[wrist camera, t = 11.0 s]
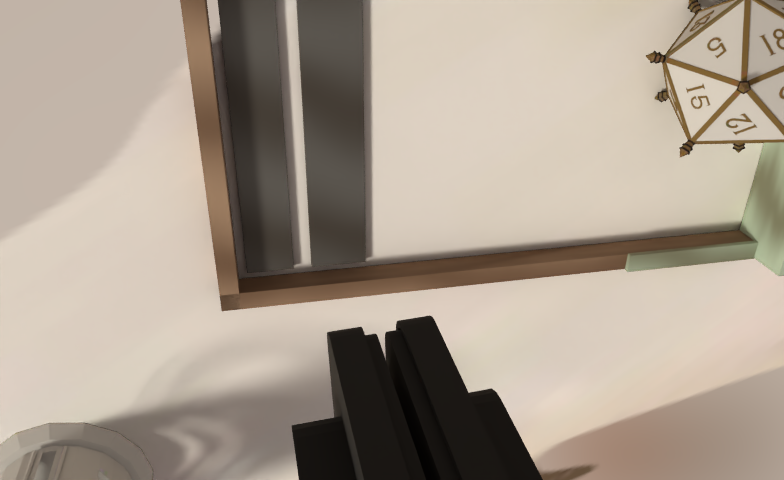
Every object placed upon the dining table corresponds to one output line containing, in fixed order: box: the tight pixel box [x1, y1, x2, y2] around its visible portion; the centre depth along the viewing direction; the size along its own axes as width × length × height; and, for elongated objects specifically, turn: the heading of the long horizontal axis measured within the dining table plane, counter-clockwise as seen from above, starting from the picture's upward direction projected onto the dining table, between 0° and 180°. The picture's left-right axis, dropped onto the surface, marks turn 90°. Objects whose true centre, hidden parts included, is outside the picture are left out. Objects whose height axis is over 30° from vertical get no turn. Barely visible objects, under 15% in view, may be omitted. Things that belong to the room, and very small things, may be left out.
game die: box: [646, 0, 784, 157], centre depth 33 cm, size 9×8×10 cm
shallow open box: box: [180, 0, 784, 311], centre depth 34 cm, size 22×33×4 cm
